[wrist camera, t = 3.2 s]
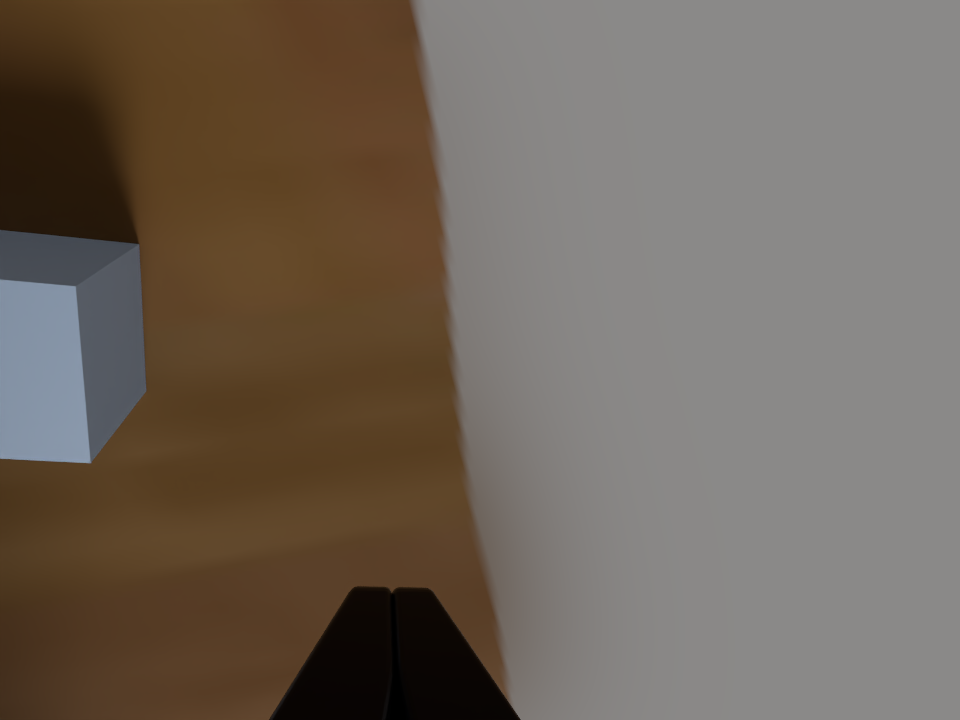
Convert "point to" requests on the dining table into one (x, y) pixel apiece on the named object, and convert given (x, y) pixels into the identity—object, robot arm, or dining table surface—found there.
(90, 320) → the blue-gray block
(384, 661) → the robot arm
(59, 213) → the dining table surface
